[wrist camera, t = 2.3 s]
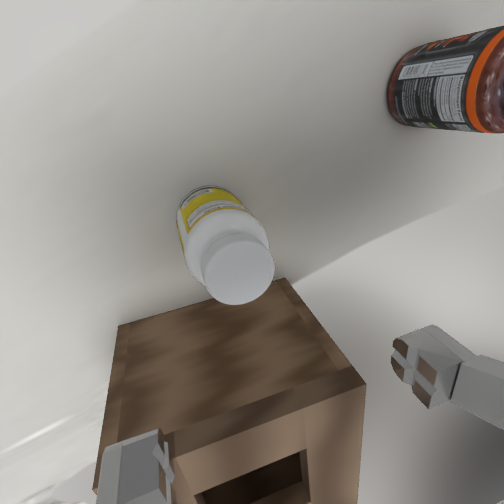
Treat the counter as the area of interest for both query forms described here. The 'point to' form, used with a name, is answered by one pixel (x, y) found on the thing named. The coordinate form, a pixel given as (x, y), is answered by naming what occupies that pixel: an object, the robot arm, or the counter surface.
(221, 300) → the supplement bottle
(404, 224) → the counter surface
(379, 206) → the counter surface
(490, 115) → the supplement bottle
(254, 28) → the counter surface
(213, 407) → the box
